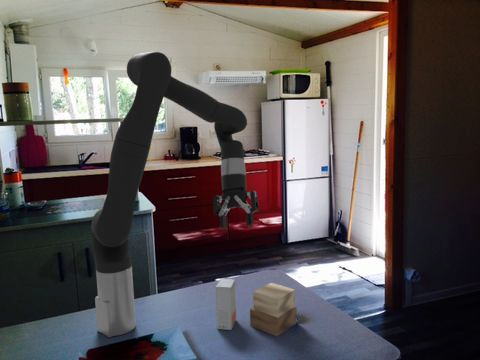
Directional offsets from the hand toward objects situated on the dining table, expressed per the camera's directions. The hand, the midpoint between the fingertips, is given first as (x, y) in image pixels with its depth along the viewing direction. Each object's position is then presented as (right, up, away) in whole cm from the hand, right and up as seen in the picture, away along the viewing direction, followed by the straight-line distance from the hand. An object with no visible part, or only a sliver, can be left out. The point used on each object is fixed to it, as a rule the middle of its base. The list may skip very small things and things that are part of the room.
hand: (236, 227), depth 124 cm
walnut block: (+10, -25, -11) cm, 30 cm away
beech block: (+10, -20, -12) cm, 26 cm away
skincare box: (-3, -26, -11) cm, 28 cm away
